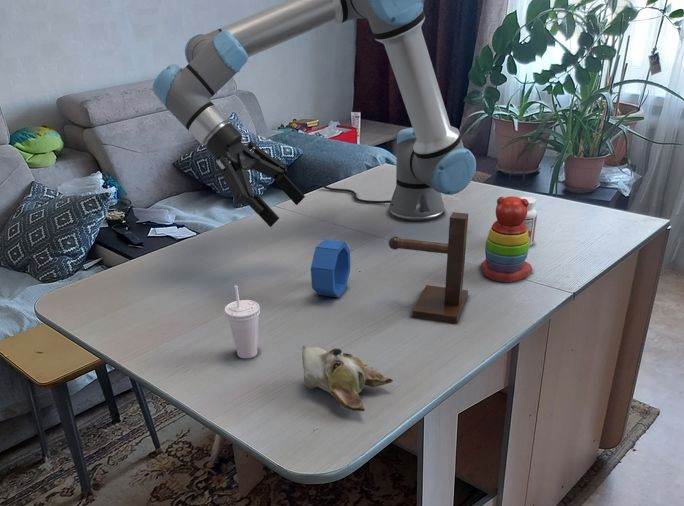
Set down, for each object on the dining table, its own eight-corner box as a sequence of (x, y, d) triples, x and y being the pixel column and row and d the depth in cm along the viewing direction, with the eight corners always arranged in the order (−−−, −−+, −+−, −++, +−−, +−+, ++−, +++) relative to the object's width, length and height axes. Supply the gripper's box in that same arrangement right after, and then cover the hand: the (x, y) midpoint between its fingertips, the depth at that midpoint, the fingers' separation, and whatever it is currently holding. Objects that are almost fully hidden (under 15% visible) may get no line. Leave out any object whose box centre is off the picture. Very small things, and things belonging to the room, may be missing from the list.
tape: (312, 301, 138) (309, 253, 132) (330, 279, 147) (329, 233, 141) (333, 304, 136) (331, 255, 130) (350, 282, 145) (349, 235, 139)
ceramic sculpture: (320, 322, 112) (397, 350, 105) (320, 363, 117) (393, 392, 110) (284, 351, 105) (363, 383, 98) (285, 393, 109) (361, 426, 103)
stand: (380, 312, 133) (380, 219, 122) (395, 287, 142) (397, 199, 132) (456, 323, 128) (463, 227, 117) (467, 296, 137) (475, 205, 127)
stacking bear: (532, 267, 148) (543, 192, 139) (524, 286, 141) (534, 207, 131) (485, 261, 152) (493, 187, 143) (475, 278, 145) (481, 201, 135)
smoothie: (231, 345, 124) (222, 279, 116) (264, 343, 124) (257, 276, 117) (229, 363, 118) (219, 295, 111) (264, 361, 119) (257, 292, 111)
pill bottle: (518, 236, 164) (523, 193, 158) (538, 242, 160) (544, 199, 154) (502, 242, 161) (507, 199, 155) (522, 249, 157) (528, 205, 151)
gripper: (235, 132, 145) (300, 203, 148) (175, 163, 125) (252, 243, 129) (254, 108, 141) (321, 182, 144) (195, 136, 121) (274, 221, 124)
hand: (288, 211), depth 136 cm, fingers open, 13 cm apart
